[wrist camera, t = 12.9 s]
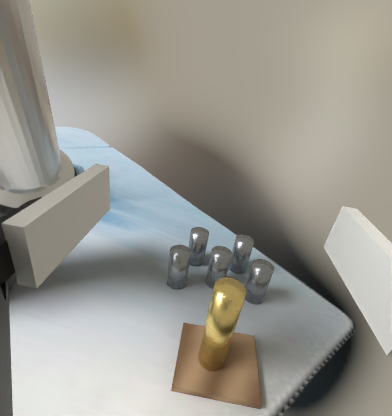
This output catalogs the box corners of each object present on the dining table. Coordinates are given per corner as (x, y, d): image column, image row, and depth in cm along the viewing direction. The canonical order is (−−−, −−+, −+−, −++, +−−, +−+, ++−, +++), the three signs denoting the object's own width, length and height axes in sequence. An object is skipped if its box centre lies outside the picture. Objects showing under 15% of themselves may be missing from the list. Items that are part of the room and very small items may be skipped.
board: (171, 390, 34) (171, 386, 33) (183, 326, 42) (183, 322, 42) (259, 408, 33) (261, 404, 33) (252, 340, 42) (254, 336, 41)
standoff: (196, 368, 36) (213, 297, 29) (199, 342, 39) (215, 274, 33) (224, 374, 35) (247, 304, 29) (224, 347, 39) (245, 280, 33)
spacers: (164, 287, 50) (168, 255, 46) (176, 251, 60) (179, 223, 57) (264, 305, 49) (275, 275, 45) (257, 266, 60) (266, 238, 56)
